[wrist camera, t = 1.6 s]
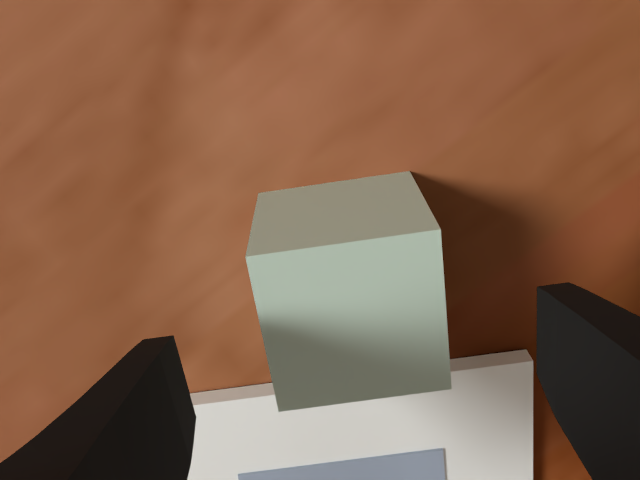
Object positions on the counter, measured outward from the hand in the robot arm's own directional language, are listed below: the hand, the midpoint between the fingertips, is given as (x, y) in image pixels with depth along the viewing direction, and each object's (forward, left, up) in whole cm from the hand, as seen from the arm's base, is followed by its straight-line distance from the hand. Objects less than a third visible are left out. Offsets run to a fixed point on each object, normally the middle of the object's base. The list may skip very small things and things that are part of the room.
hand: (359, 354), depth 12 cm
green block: (0, 0, -5) cm, 5 cm away
